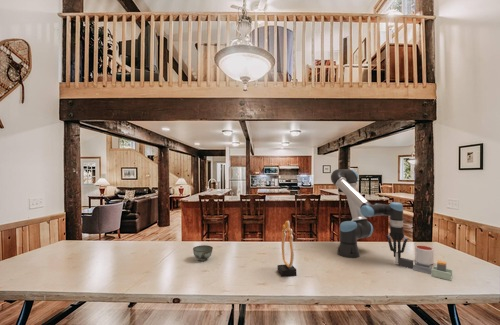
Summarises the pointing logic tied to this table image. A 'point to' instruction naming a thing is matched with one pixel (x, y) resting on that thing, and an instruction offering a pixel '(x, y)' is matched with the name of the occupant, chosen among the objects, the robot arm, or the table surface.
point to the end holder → (442, 273)
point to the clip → (422, 268)
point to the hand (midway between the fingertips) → (397, 262)
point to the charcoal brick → (405, 262)
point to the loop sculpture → (287, 268)
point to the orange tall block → (441, 266)
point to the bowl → (202, 252)
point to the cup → (424, 255)
